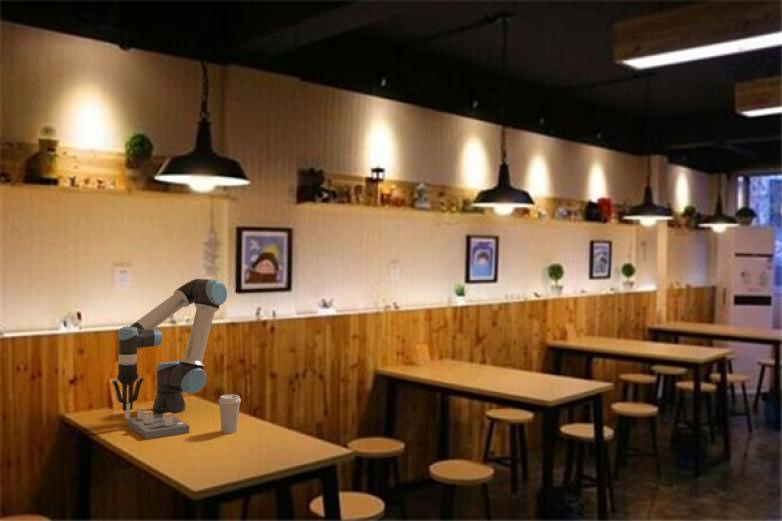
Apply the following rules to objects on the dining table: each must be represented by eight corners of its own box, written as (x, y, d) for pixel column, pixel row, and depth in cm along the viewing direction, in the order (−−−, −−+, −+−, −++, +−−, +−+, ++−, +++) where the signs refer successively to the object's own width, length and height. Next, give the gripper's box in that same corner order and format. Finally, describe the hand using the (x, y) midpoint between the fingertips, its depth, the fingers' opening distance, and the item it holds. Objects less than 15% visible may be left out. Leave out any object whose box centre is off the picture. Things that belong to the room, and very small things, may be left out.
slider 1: (144, 417, 303) (144, 406, 303) (147, 418, 300) (147, 408, 300) (137, 418, 301) (137, 407, 301) (139, 419, 298) (139, 409, 298)
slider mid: (150, 421, 297) (150, 410, 297) (153, 422, 294) (153, 412, 294) (143, 422, 295) (143, 411, 295) (145, 423, 292) (146, 413, 292)
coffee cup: (237, 434, 291) (238, 399, 291) (215, 433, 291) (215, 398, 291) (242, 428, 301) (243, 394, 300) (221, 427, 301) (221, 393, 300)
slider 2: (170, 423, 294) (170, 412, 294) (173, 425, 291) (173, 414, 291) (162, 424, 292) (162, 413, 292) (165, 426, 289) (165, 415, 289)
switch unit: (167, 419, 313) (167, 412, 313) (189, 432, 292) (189, 425, 292) (126, 425, 302) (126, 418, 302) (146, 439, 281) (146, 431, 281)
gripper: (140, 360, 303) (139, 413, 304) (109, 363, 295) (109, 418, 296) (145, 363, 297) (145, 417, 298) (114, 366, 289) (114, 421, 290)
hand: (127, 417), depth 297 cm, fingers closed
